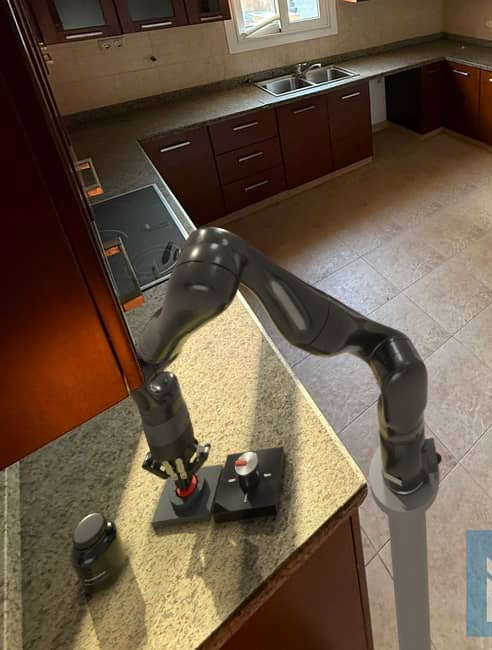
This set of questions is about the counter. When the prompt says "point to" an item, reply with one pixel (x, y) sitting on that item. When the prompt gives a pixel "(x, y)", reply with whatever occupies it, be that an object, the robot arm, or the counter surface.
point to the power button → (190, 490)
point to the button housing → (189, 499)
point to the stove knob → (248, 470)
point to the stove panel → (253, 501)
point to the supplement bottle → (97, 553)
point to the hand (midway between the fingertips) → (185, 485)
